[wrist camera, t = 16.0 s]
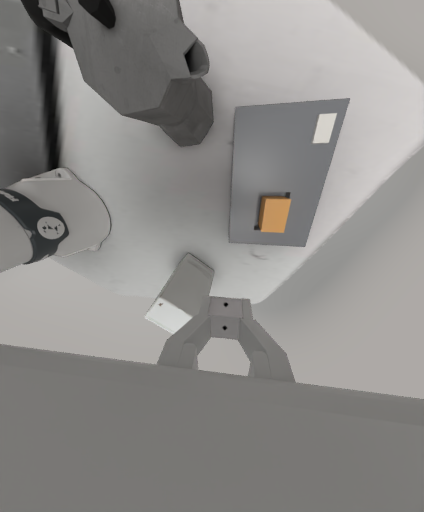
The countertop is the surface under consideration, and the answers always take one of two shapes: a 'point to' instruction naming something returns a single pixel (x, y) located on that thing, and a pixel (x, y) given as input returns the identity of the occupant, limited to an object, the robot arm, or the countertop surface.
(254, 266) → the countertop surface
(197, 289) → the skincare box
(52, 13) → the coffeepot
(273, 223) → the plug
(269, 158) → the socket plate
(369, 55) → the countertop surface
